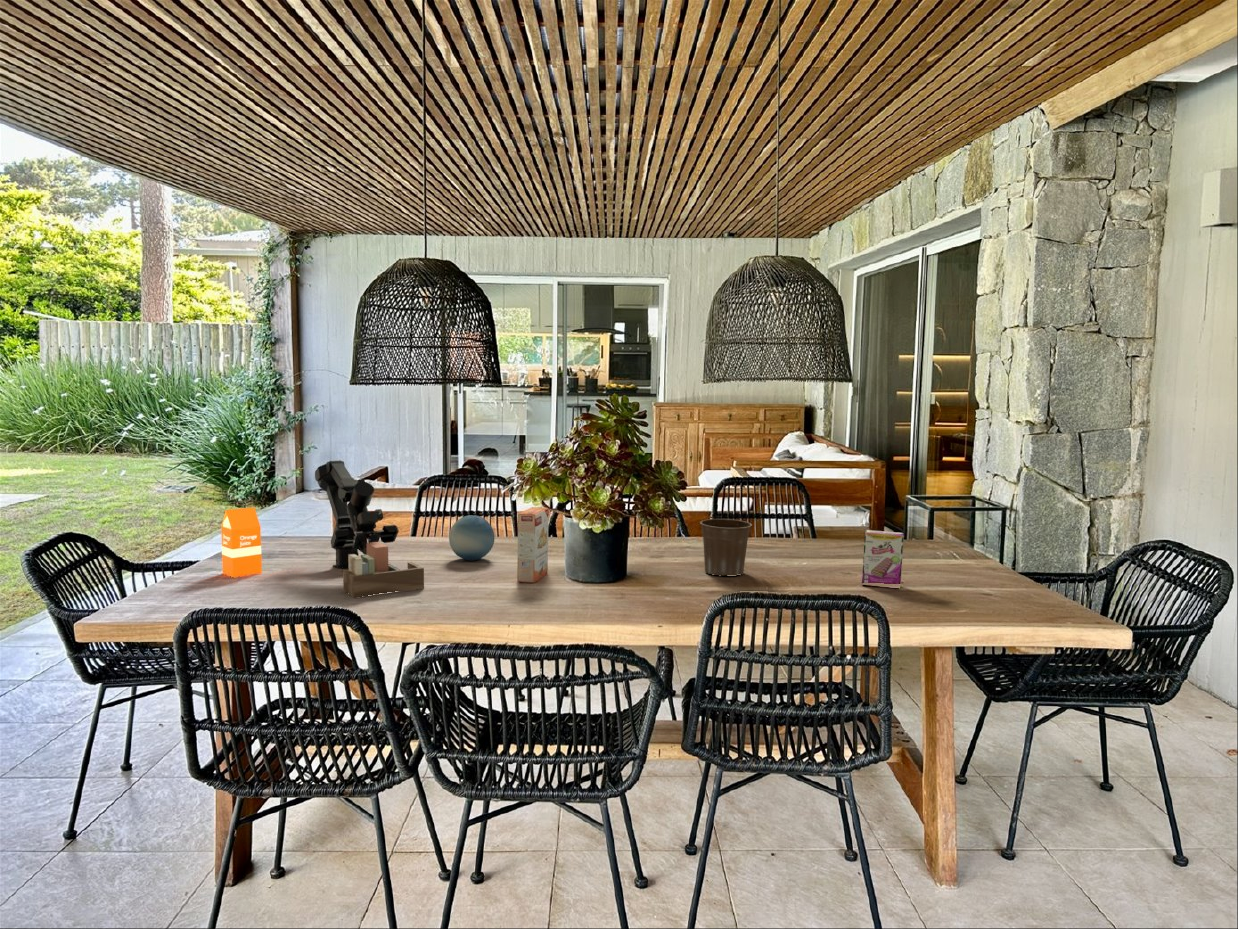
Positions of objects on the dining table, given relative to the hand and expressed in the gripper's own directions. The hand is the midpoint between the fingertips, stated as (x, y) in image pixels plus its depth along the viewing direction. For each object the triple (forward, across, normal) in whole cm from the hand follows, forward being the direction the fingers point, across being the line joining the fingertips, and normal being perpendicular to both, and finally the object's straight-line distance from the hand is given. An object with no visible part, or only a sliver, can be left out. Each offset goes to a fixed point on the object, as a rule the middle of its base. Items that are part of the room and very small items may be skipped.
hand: (372, 559), depth 240 cm
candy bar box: (+65, +126, -53) cm, 151 cm away
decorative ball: (-4, +38, +14) cm, 41 cm away
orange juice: (-18, -30, +28) cm, 44 cm away
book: (+8, 0, +2) cm, 8 cm away
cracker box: (+19, +43, -8) cm, 48 cm away
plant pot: (+38, +97, -27) cm, 108 cm away
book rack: (+12, 0, -2) cm, 12 cm away
